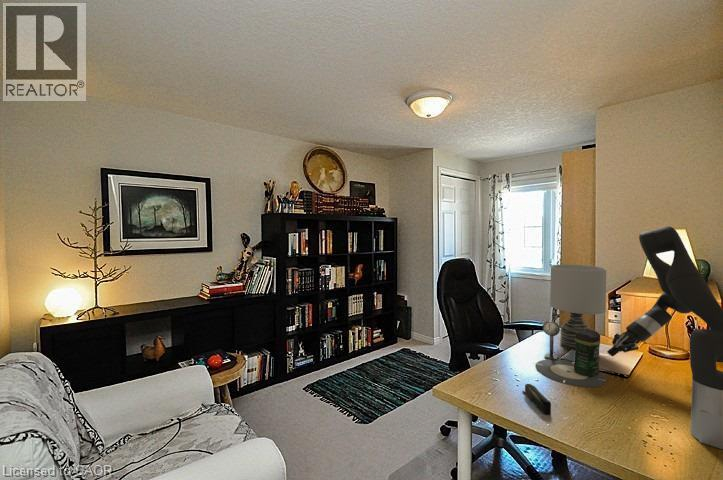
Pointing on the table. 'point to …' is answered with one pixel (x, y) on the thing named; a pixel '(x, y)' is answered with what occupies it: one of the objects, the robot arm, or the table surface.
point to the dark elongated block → (537, 399)
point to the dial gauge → (551, 337)
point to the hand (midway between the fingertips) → (609, 354)
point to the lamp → (577, 297)
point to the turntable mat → (567, 373)
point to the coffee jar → (587, 353)
